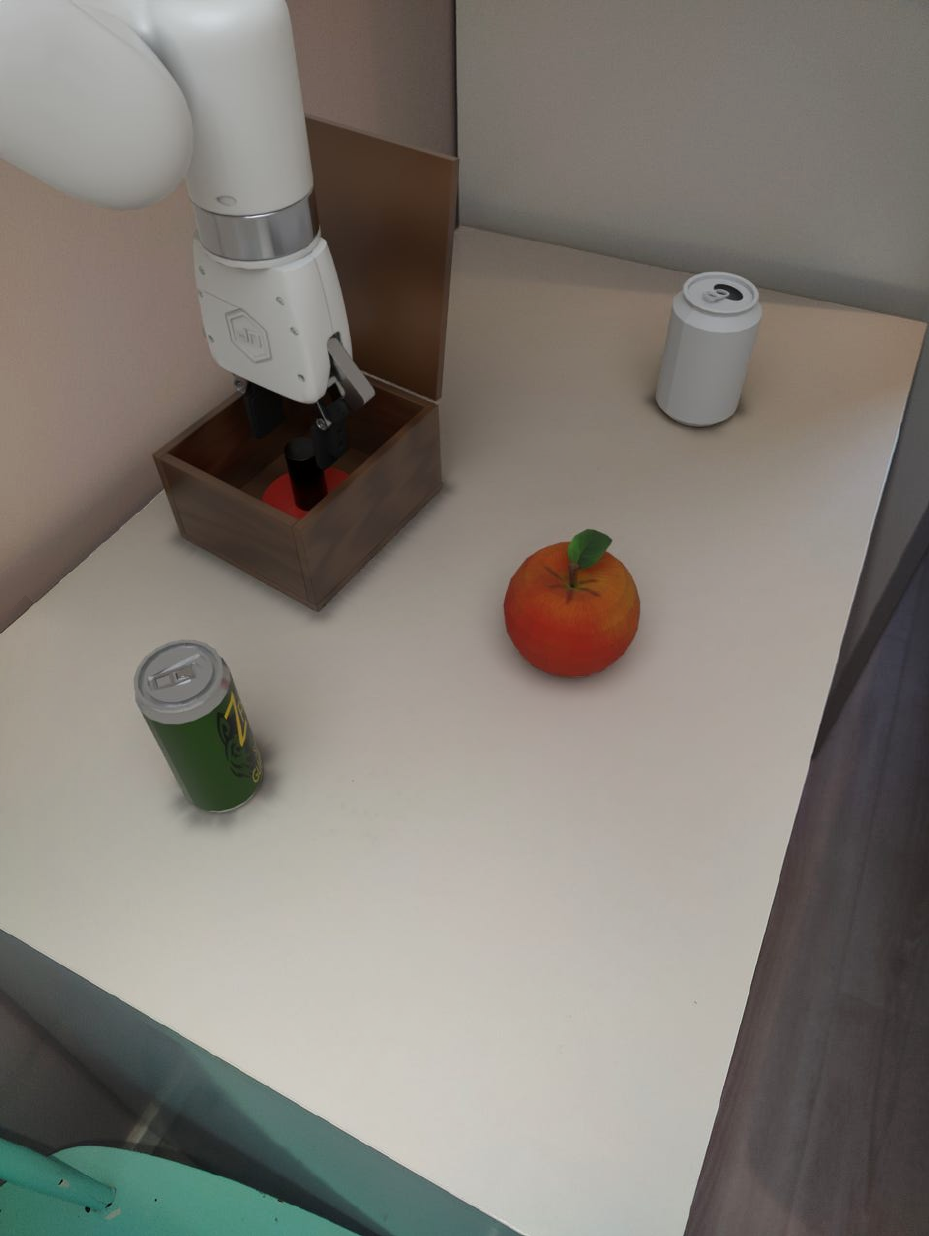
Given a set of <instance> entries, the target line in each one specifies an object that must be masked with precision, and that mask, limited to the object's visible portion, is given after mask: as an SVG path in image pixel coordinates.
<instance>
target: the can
mask: <svg viewBox="0 0 929 1236" xmlns="http://www.w3.org/2000/svg"><path fill="white" fill-rule="evenodd" d="M759 300H760V293H759V290H758V288H757V287H756V286H755V284H754V283H752V282H751V281H750V280H748V279H747V278H745V277H743V276H741V275H738V274H734V273H731V272H727V271H703V272H700V273H697V274H695V275H693V276H691V277H690V278H688V279H686V281H685V282H684V283H683V286H682V290H679V292H677V293H676V295H675V296H674V298H673V299H672V303H671V309H670V315H669V320H668V325H667V331H666V336H665V341H664V347H663V351H662V352H663V353H662V356H661V357H662V358H661V363H660V369H659V374H658V379H657V385H656V392H655V400H656V402H657V405H658V407H659V408H660V409H661V410H662V411H663V412H664V413H665V414H666V415H667V416H668V417H669V418H671V419H672V420H674V421H676V422H677V423H679V424H682V425H685V426H689V427H698V428H701V427H710V426H713V425H715V424H718V423H720V422H723V421H726V420H727V419H728V418H730V417H731V416H733V415H734V414H735V412H736V410H737V409H738V406H739V402H740V398H741V394H742V391H743V388H744V385H745V380H746V377H747V374H748V369H749V365H750V362H751V358H752V355H753V351H754V347H755V344H756V340H757V337H758V332H759V329H760V326H761V322H762V318H763V306H762V305H761V304H760V302H759Z"/></svg>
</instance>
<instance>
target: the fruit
mask: <svg viewBox="0 0 929 1236" xmlns="http://www.w3.org/2000/svg"><path fill="white" fill-rule="evenodd" d="M612 543H613V539H612V538H611V537H610V535H607V534H606V533H604V532H601V531H598V530H597V529H592V528H586V529H585V530H583V531H581V532H579V533H577V534H575V535H574V536H573V537H572V539H571V540H570V541H560V542H557V543H554V544H551V545H547V546H545V547H543V548H540V549H539V550H537V551H536V552H534V553H532V554H531V555H530V556H528V557H526V558H525V560H524V561H523V562H522V563H521V564H520V566H519V567H518V568H517V570H516V571H515V572H514V574H513V575H512V576H511V578H509V579H510V580H509V583H508V586H507V589H506V593H505V597H504V601H503V605H502V606H503V616H504V623H505V628H506V633H507V635H508V637H509V639H510V640H511V642H512V644H513V645H514V647H515V648H516V650H517V652H518V653H519V655H520V656H522V657H523V658H524V659H525V660H526V661H527V662H528V663H530V664H531V665H532V666H533V667H535V668H538V669H540V670H541V671H543V672H545V673H547V674H549V675H555V676H559V677H563V678H579V677H588V676H591V675H594V674H597V673H600V672H603V671H604V670H606V669H607V668H608V667H610V666H611V665H612V664H614V663H615V662H616V661H618V660H619V659H620V658H622V657H623V656H624V655H625V653H626V652H627V650H628V648H629V647H630V645H631V644H632V642H633V641H634V639H635V636H636V634H637V632H638V629H639V624H640V623H639V622H640V617H641V599H640V596H639V592H638V588H637V585H636V582H635V580H634V578H633V575H632V574H631V573H630V572H629V570H628V568H627V567H626V566H625V564H624V563H623V562H622V561H620V559H618V558H617V557H615V556H614V555H613V554H611V552H609V551H607V550H608V549H609V547H610V546H611V545H612Z"/></svg>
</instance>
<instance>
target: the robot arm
mask: <svg viewBox="0 0 929 1236" xmlns="http://www.w3.org/2000/svg"><path fill="white" fill-rule="evenodd" d="M294 38H295V37H294V32H293V26H292V19H291V15H290V10H289V6H288V3H287V1H286V0H0V158H1V159H2V160H4V161H6V162H7V163H9V164H10V165H13V166H15V167H16V168H18V169H19V170H21V171H24V172H25V173H26V174H28V175H30V176H32V177H34V178H35V179H37V180H39V181H41V182H42V183H44V184H46V185H48V186H50V187H52V188H53V189H55V190H57V191H58V192H61V193H62V194H64V195H66V196H68V197H70V198H72V199H74V200H77V201H79V202H82V203H84V204H86V205H90V206H93V207H97V208H101V209H104V210H111V211H119V212H124V211H125V212H126V211H138V210H141V209H145V208H149V207H152V206H154V205H155V204H158V203H160V202H161V201H164V200H165V199H166V198H167V197H168V196H170V195H171V194H173V192H175V191H176V189H177V188H178V187H179V185H180V184H181V183H182V181H183V180H184V181H185V186H186V189H187V193H188V198H189V202H190V205H191V208H192V212H193V217H194V221H195V225H196V229H195V230H194V232H193V236H192V255H193V270H194V279H195V286H196V294H197V298H198V304H199V309H200V315H201V319H202V323H203V324H202V325H203V327H202V329H201V331H202V332H201V333H202V334H203V336H204V337H205V339H206V341H207V345H208V347H209V351H210V354H211V357H212V358H213V361H215V362H216V364H217V365H219V366H220V367H222V368H223V369H224V370H226V371H228V372H229V373H231V374H232V375H233V385H234V387H235V389H236V391H239V392H240V393H242V394H245V396H244V401H245V406H246V410H247V414H248V418H249V422H250V426H251V430H252V434H253V436H254V437H256V438H258V439H262V438H264V437H265V436H267V435H268V434H269V433H270V432H272V431H273V430H274V429H275V428H277V427H278V426H279V425H280V424H282V423H283V422H284V421H285V419H286V416H285V411H284V407H283V402H282V397H281V395H283V396H285V397H287V398H290V399H292V400H295V401H298V402H301V403H306V404H307V405H308V407H309V410H310V412H311V414H312V416H313V418H314V420H315V423H314V424H313V425H312V426H311V429H310V431H311V436H312V442H313V447H314V453H315V458H316V464H317V466H318V467H319V468H321V469H323V470H326V469H328V468H329V467H330V466H331V465H332V464H333V463H334V462H336V461H337V460H338V459H339V458H340V457H342V456H343V455H344V454H345V453H346V452H347V451H348V449H349V439H348V432H347V425H346V418H345V417H346V416H347V415H348V414H349V413H351V412H353V411H355V410H357V409H358V408H360V407H361V406H363V405H364V404H366V403H367V402H368V401H369V400H370V399H371V398H373V397H374V396H375V390H374V389H373V387H372V386H371V384H370V383H369V382H368V380H367V379H366V378H365V376H364V375H363V374H364V373H363V371H362V370H360V369H359V368H358V366H357V365H356V364H355V362H354V361H353V357H352V345H351V337H350V331H349V324H348V319H347V314H346V309H345V304H344V300H343V296H342V291H341V288H340V284H339V280H338V276H337V273H336V269H335V266H334V263H333V259H332V256H331V253H330V250H329V248H328V245H327V242H326V240H324V239H323V238H321V231H320V223H319V216H318V209H317V202H316V195H315V187H314V181H313V174H312V166H311V159H310V152H309V145H308V138H307V131H306V124H305V116H304V113H305V110H304V102H303V95H302V89H301V82H300V81H301V80H300V76H299V68H298V61H297V54H296V53H297V52H296V45H295V39H294ZM326 390H328V392H329V394H330V396H331V399H332V401H333V403H332V404H330V405H329V406H328V407H327V408H326V407H325V404H324V402H323V400H322V398H321V397H323V396H324V395H325V393H326Z"/></svg>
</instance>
